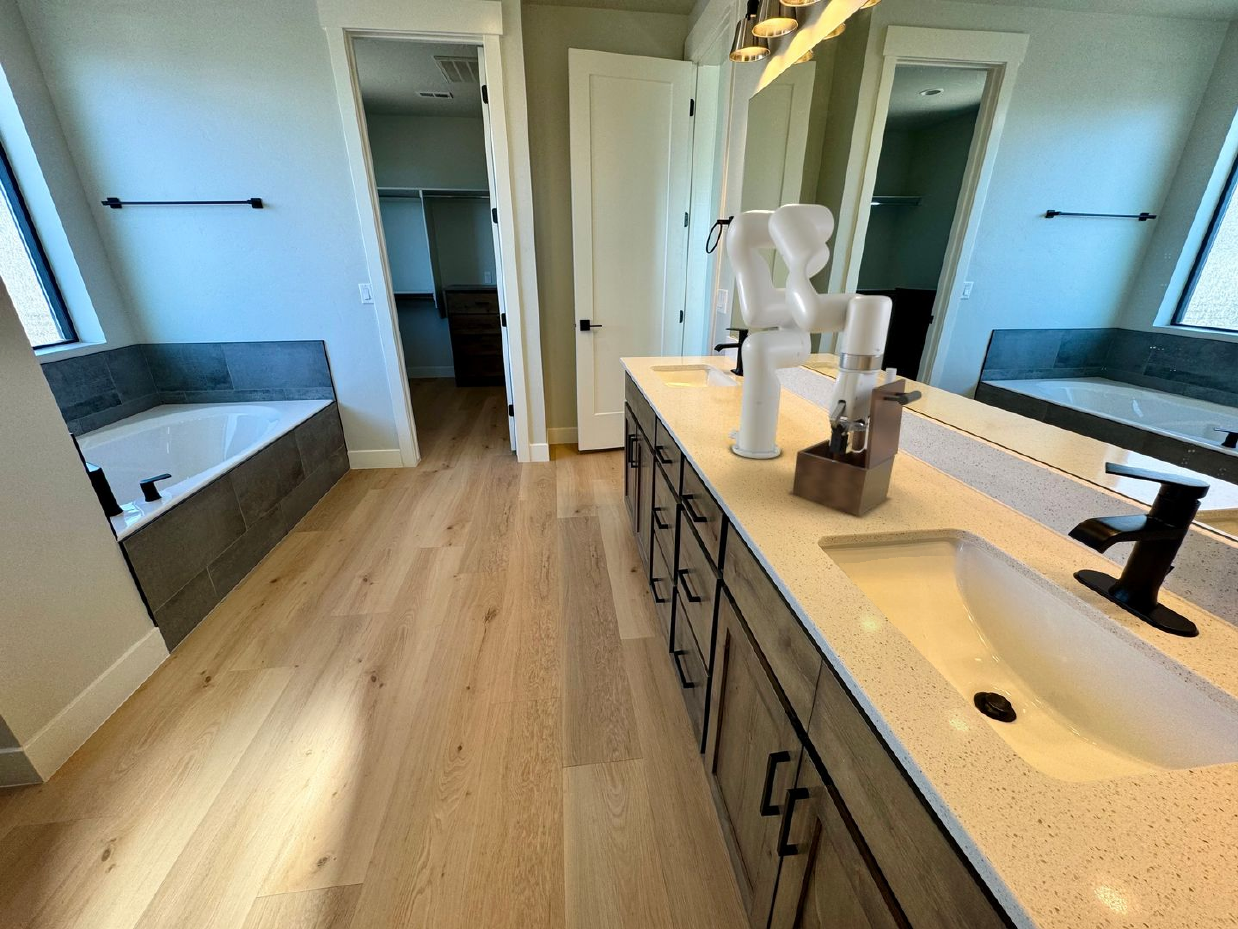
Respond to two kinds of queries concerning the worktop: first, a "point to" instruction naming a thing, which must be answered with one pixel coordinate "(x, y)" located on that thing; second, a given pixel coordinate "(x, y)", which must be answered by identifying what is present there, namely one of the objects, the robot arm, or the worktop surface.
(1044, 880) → the worktop surface
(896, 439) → the lid
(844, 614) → the worktop surface
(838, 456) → the beer glass
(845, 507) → the chest
